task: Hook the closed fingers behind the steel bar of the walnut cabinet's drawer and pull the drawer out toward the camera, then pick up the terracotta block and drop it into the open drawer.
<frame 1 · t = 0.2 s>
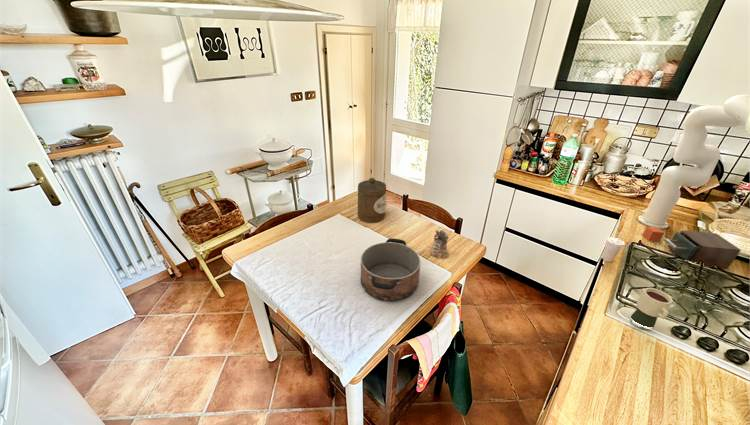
cooking pot: (389, 281, 119), on the table
smoothie: (607, 259, 134), on the table
cabinet: (697, 257, 136), on the table
brown lidded canister: (371, 216, 164), on the table
block: (651, 238, 149), on the table
figurine: (438, 254, 135), on the table
drawer: (690, 247, 134), point 5 cm above the table, slide at 1.0 cm
character mug: (640, 324, 102), on the table
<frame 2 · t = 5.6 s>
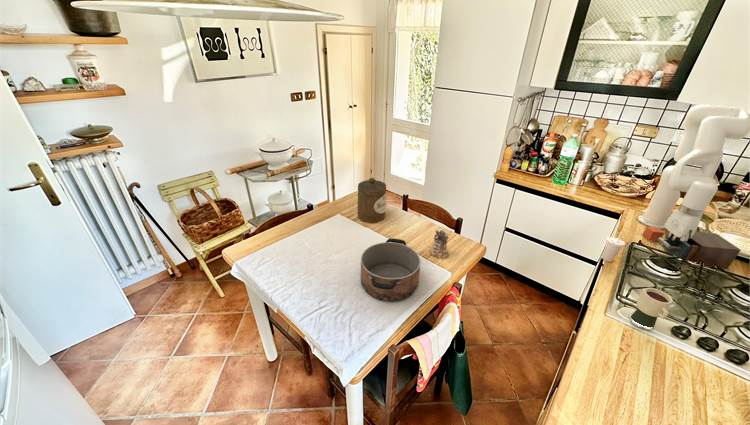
hand: (669, 246, 135), 4 cm above the table, tool pointing down, fingers closed
drawer: (684, 246, 134), point 5 cm above the table, slide at 3.3 cm, touching gripper
everything else where it was.
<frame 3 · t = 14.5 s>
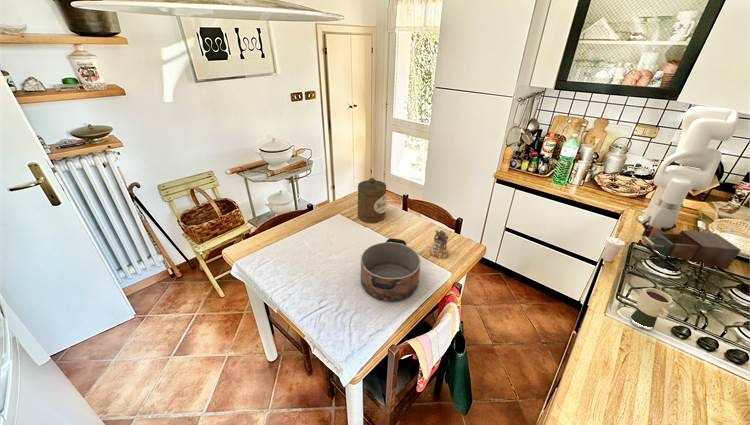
hand: (651, 237, 149), 0 cm above the table, tool pointing down, fingers closed on block, 5 cm apart
block: (651, 238, 149), on the table, touching gripper
drawer: (668, 245, 135), point 5 cm above the table, slide at 9.6 cm
everything else where it was.
when the fingers open (8 cm above the table, at t = 19.9 s): block drops 6 cm, resting on drawer.
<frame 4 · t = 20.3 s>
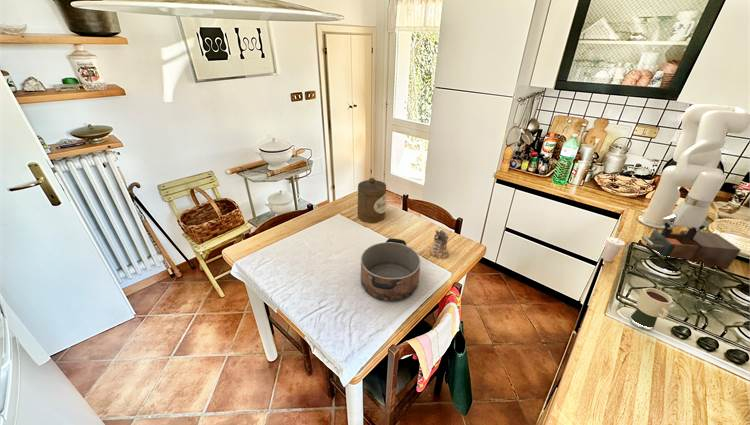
hand: (676, 236, 133), 9 cm above the table, tool pointing down, fingers open, 8 cm apart
block: (667, 250, 136), point 2 cm above the table, touching drawer
drawer: (667, 245, 135), point 5 cm above the table, slide at 10.0 cm, touching block
everything else where it was.
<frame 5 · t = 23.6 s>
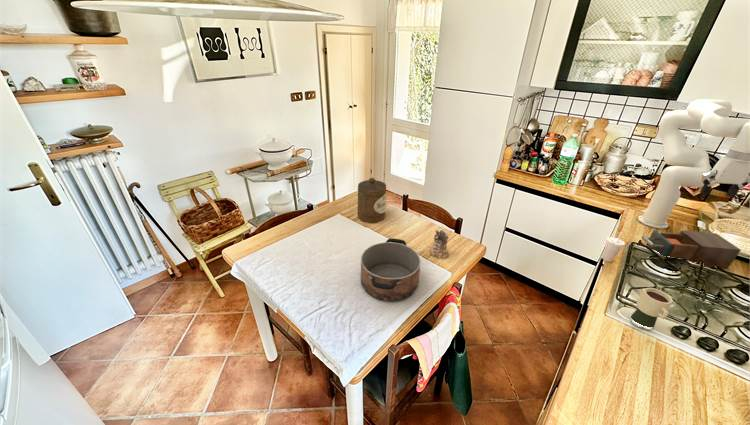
hand: (716, 195, 127), 28 cm above the table, tool pointing down, fingers open, 9 cm apart
nothing on the table moved.
at the end: drawer slide at 10.0 cm; block inside the target area in the drawer (1.3 cm from its centre), point 2.1 cm above the cabinet's base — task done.
